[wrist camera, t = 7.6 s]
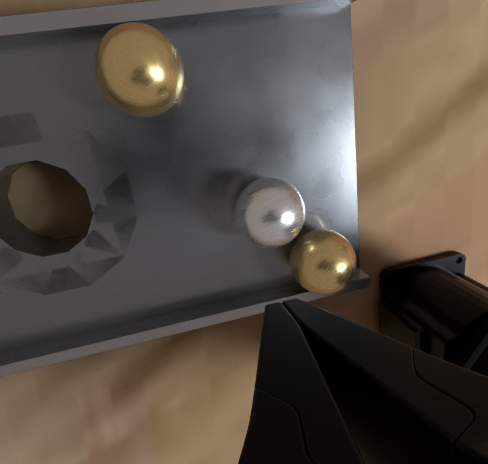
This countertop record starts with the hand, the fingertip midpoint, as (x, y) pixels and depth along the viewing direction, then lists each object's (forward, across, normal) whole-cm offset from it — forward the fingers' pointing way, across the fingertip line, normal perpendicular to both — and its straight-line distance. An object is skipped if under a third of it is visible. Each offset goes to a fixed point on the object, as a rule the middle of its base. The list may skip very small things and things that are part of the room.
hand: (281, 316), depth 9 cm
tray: (+12, +4, -2) cm, 13 cm away
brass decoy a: (+8, -4, +3) cm, 10 cm away
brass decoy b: (+8, +3, -7) cm, 11 cm away
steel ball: (+8, -2, 0) cm, 8 cm away
